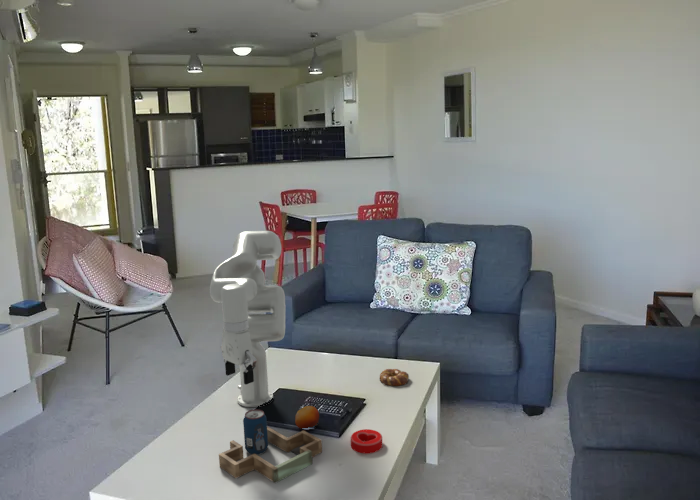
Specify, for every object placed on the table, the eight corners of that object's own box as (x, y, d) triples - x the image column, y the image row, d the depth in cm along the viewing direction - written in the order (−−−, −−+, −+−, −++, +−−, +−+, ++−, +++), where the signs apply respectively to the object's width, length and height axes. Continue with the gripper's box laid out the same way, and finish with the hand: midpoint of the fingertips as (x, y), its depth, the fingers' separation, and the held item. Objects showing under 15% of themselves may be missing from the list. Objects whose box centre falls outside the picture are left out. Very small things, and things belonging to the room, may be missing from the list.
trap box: (212, 461, 182) (211, 449, 181) (282, 430, 199) (281, 419, 198) (256, 492, 166) (255, 479, 165) (328, 455, 183) (327, 443, 183)
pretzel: (372, 380, 236) (371, 371, 235) (392, 373, 243) (392, 364, 242) (394, 390, 227) (394, 380, 226) (415, 381, 234) (414, 372, 233)
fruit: (321, 430, 196) (308, 409, 195) (301, 440, 198) (288, 419, 197) (327, 418, 203) (314, 398, 203) (308, 428, 206) (295, 408, 205)
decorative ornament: (352, 455, 184) (351, 445, 183) (350, 438, 193) (349, 429, 193) (384, 453, 184) (384, 443, 184) (380, 437, 194) (380, 427, 193)
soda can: (254, 442, 192) (252, 406, 190) (272, 447, 189) (270, 410, 186) (240, 453, 186) (238, 416, 184) (259, 458, 183) (257, 421, 180)
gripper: (209, 322, 190) (213, 374, 193) (242, 334, 177) (245, 390, 181) (230, 316, 195) (234, 367, 198) (263, 328, 182) (266, 382, 186)
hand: (239, 378), depth 189 cm, fingers open, 9 cm apart
